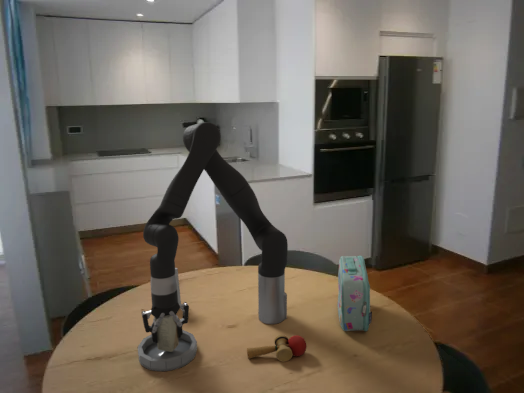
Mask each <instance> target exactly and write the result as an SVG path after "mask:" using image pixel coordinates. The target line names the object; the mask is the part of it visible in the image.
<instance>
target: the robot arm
mask: <svg viewBox="0 0 524 393" xmlns="http://www.w3.org/2000/svg"><path fill="white" fill-rule="evenodd" d="M182 141H183V146H184V147H185V149H186V150H187V151H188V152H189V153H188V155H187V156H186V159H185V161H184V162H183V164H182V166H181V167H180V169H179V170H178V171H177V173H176V174H175V176H174V177H173V178H172V180H171V181H170V183H169V185H168V187H167V188H166V191H165V193H164V195H163V197H162V200H161V203H160V205H159V206H158V207H157V208H156V210H155V211H154V212H153V213H152V215H151V217H149V219H148V220H147V222H146V223H145V225H144V228H143V231H142V232H143V233H142V234H143V236H142V237H143V240H144V241H145V243H146V244H148V245H150V246H153V247H155V248H156V249H157V253H155V254H153V255H152V256H151V257H150V258H149V259H150V260H149V269H150V271H149V272H150V293H151V294H150V295H151V296H150V297H151V308H150V310H147V311H145V310H142V311H141V318H142V323H143V327H144V330H145V333H151V334H150V335H152V341H153V342H155V344H156V343H158V339H157V331H156V330H157V328H158V326H159V325H160V323H161V321H162V319H163V317H164V316H167V315H171V316H173V319H174V321H175V322H176V323H177V330H178V338H181V335H182V334H183V331H182V330H183V325H186V324H188V323H189V314H190V312H189V311H190V305H189V304H188V302H187V301H184V302H183V303H181V304H179V303H178V294H177V279H176V274H175V268H176V264H175V263H176V261H175V260H176V255H177V252H178V246H179V239H180V238H179V233H178V230H177V229H176V227H175V226H173V225H171V222H172V221H173V220H177V219H180V218H181V217H182V216H183V214H184V212H185V210H186V208H187V205H188V204H189V201H190V198H191V196H192V193H193V192H194V189H195V187H196V185H197V183H198V181H199V179H200V177H201V176H202V174H203V171H205V173H206V174H207V175H208V176H209V179H210V180H211V181H212V183H213V184H214V185H215V187H216V188H217V191H218V192H219V193H220V195H221V196H222V198H223V199H224V200H225V201H226V203H227V204H228V206H229V207H230V208H231V209H232V211H233V212H234V213H235V215H236V216H237V217H238V218H239V219H240V220H241V221H242V223H243V224H244V225H245V227H246V228H247V230H248V232H249V234H250V235H251V237H252V239H253V241H254V244H255V245H256V247H257V248H258V249H259V250H260V251H261V262H260V263H259V264H258V266H257V273H258V274H257V279H258V280H257V281H258V283H257V284H258V285H257V287H258V289H257V290H258V293H257V294H258V299H257V300H258V309H257V312H258V314H257V315H258V320H259V321H260V322H261V323H263V324H267V325H276V324H279V323H282V322H283V321H285V320H286V319H288V318H287V316H288V311H287V310H288V306H287V305H288V294H287V293H286V292H285V288H286V287H285V286H286V285H285V284H286V283H285V282H286V281H285V280H286V279H285V277H286V276H285V274H286V273H285V272H286V270H285V269H286V267H287V264H288V250H289V248H288V246H289V245H288V238H287V236H286V234H285V233H284V232H283V231H282V230H280V229H279V228H277V227H275V225H273V224H272V223H271V221H270V220H269V219H268V218H267V216H266V215H265V214H264V212H263V211H262V209H261V207H260V203H259V200H258V198H257V196H256V193H255V191H254V190H253V188H252V187H251V185H250V183H249V181H248V180H247V179H246V178H245V177H244V175H243V174H242V173H240V172H239V171H238V170H237V169H236V168H234V166H232V165H231V164H230V163H228V162H227V161H226V160H225V159H224V157H223V156H221V154H220V153H219V151H218V147H219V145H220V144H221V132H220V129H219V128H218V127H217V125H216V124H214V123H212V122H208V121H205V122H204V121H203V122H199V123H196V124H192V125H189V126H187V127H186V129H184V131H183V135H182ZM180 310H181V312H182V316H181V317H182V318H179V316H178V312H179V311H180ZM151 315H152V316H153V317H154V318H153V321H152V323H151V324H149V319H150V318H151ZM155 318H156V319H157V321H155Z"/></svg>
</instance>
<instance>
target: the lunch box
mask: <svg viewBox="0 0 524 393" xmlns="http://www.w3.org/2000/svg"><path fill="white" fill-rule="evenodd" d="M365 263H366V262H365V258H364V255H363V256H362V255H357V256H356V255H351V256H350V255H341V256H340V258H339V260H338V274H337V277H338V278H337V285H338V286H337V288H338V295H337V305H336V306H337V314H338V321H339V325H340V327H341V329H342V331H344V332H349V331H350V332H351V331H352V332H354V331H364V332H367V331H369V328H370V325H371V324H372V319H373V318H372V316H373V311H371V285H370V282H369V276H368V271H367V268H366V264H365Z"/></svg>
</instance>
